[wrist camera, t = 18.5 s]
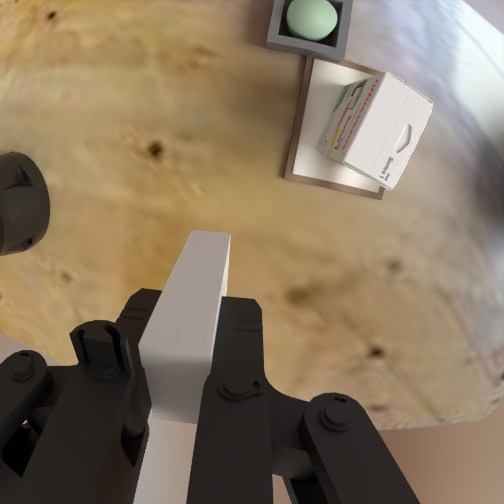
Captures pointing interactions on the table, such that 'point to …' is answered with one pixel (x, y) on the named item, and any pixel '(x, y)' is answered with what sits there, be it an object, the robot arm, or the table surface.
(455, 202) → the table surface
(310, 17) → the button
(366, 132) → the ink box
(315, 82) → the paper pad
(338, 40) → the button housing
